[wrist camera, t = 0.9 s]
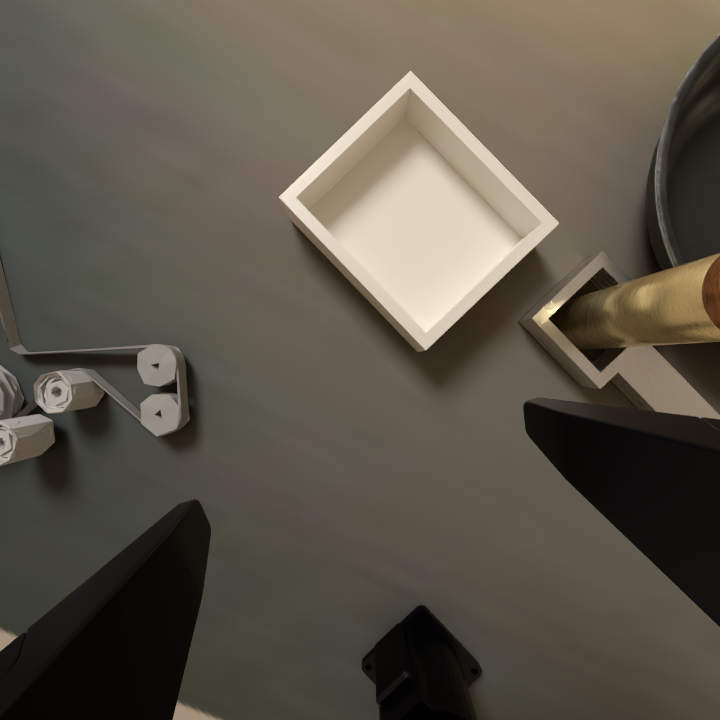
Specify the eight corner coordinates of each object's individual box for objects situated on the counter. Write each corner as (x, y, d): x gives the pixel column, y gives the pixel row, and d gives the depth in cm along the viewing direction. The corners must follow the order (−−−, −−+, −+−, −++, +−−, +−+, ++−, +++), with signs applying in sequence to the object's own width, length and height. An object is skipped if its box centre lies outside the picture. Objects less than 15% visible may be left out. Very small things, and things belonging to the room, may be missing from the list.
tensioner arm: (785, 465, 25) (832, 477, 22) (718, 528, 25) (758, 547, 22) (583, 259, 25) (608, 248, 23) (518, 321, 25) (535, 317, 23)
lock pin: (620, 324, 25) (897, 282, 12) (581, 360, 25) (815, 359, 12) (583, 285, 25) (818, 202, 12) (544, 322, 25) (737, 279, 12)
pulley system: (119, 528, 27) (225, 378, 26) (61, 566, 22) (189, 383, 21) (-129, 326, 28) (-38, 177, 27) (-233, 321, 23) (-127, 140, 22)
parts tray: (532, 242, 25) (559, 223, 22) (417, 352, 25) (425, 350, 22) (404, 110, 25) (410, 70, 22) (290, 219, 25) (278, 197, 22)
